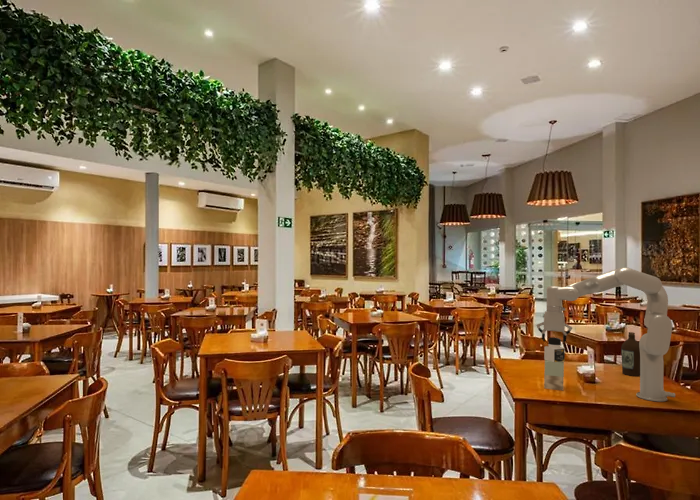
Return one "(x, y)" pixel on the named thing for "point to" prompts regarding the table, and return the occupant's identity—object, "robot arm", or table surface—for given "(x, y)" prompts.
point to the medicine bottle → (554, 350)
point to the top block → (554, 368)
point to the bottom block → (553, 382)
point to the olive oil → (630, 356)
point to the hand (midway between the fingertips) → (553, 341)
